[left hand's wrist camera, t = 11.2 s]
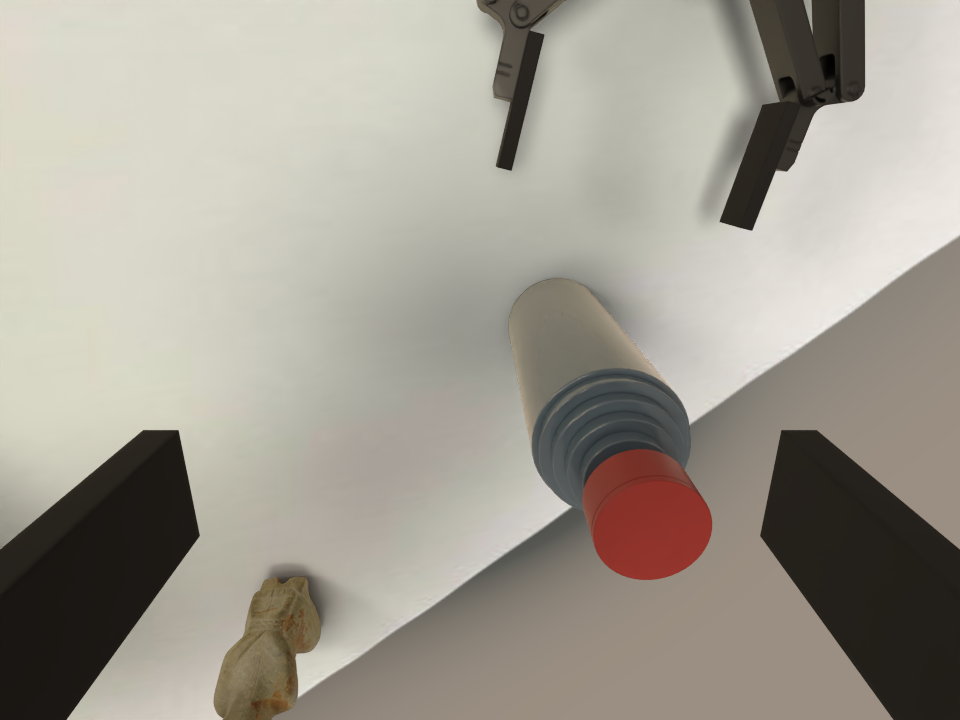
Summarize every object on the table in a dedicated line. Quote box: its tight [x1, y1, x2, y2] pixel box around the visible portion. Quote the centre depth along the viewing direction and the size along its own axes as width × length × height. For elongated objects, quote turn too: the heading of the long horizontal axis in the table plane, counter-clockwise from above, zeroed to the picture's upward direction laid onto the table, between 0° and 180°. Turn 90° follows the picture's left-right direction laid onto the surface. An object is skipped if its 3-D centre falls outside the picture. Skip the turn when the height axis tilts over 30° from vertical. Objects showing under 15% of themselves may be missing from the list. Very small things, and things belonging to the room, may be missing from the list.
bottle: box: [509, 279, 691, 511], centre depth 30 cm, size 7×7×23 cm
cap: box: [582, 449, 712, 580], centre depth 20 cm, size 4×4×2 cm
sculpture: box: [214, 577, 321, 720], centre depth 42 cm, size 6×7×15 cm
